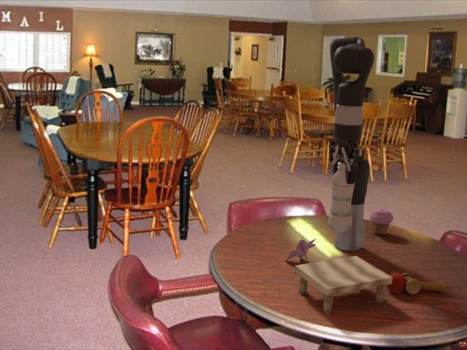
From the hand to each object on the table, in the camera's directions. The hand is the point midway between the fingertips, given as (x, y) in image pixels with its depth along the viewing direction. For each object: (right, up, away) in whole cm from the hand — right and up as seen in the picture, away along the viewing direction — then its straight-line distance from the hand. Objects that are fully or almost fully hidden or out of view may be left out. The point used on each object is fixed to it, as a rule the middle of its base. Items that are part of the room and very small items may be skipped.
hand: (343, 180), depth 159 cm
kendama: (+24, -34, +13) cm, 43 cm away
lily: (-8, -28, +31) cm, 43 cm away
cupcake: (+26, -21, +63) cm, 71 cm away
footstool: (+1, -34, +7) cm, 35 cm away
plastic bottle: (-1, -14, +4) cm, 15 cm away
